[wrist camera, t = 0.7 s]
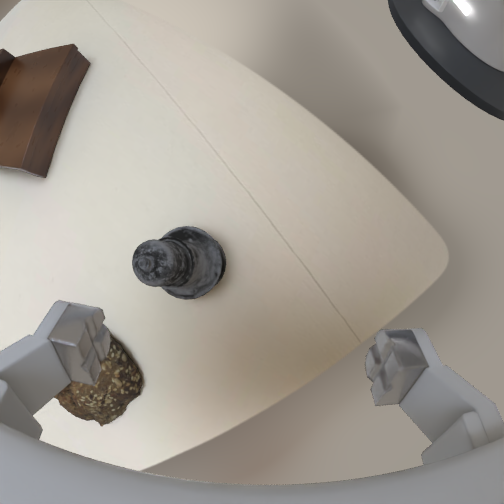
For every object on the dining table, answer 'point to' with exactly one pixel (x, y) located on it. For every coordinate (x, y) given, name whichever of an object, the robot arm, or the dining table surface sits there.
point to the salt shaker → (181, 262)
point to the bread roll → (104, 389)
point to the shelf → (36, 104)
